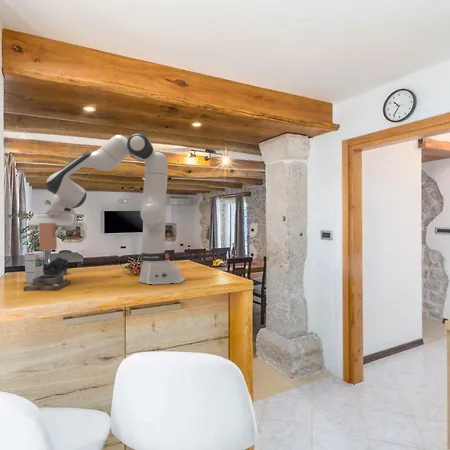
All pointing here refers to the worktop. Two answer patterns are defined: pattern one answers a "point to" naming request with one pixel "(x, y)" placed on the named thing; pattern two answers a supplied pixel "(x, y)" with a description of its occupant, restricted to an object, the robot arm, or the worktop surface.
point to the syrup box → (34, 265)
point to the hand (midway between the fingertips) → (47, 235)
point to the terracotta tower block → (47, 236)
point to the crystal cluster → (56, 267)
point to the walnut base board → (47, 283)
